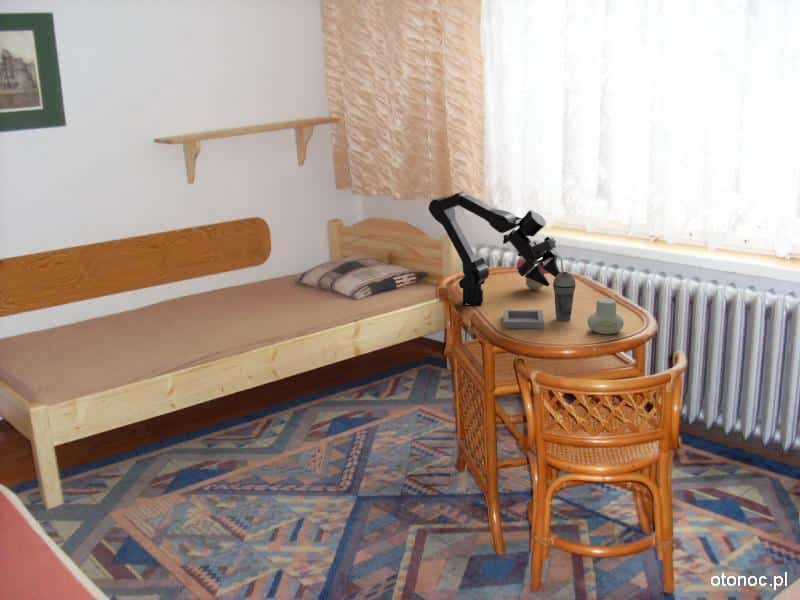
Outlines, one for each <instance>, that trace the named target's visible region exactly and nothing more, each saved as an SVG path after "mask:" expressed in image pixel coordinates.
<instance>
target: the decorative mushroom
mask: <svg viewBox="0 0 800 600" xmlns="http://www.w3.org/2000/svg"><path fill="white" fill-rule="evenodd" d="M525 262H526V261H525V259H524V258H523V257H522V256H520V257H519V258H518V260H517V262H516V270H517V271H518V268H519V267H520V266H521V265H522V264H523V263H525ZM540 266H541V265H540ZM542 267H543V266H541V272H542V273H543V275H544V276H545V275H547V274H550V273H549V272H547V271H546V270H544V269H543V268H542ZM526 275H527V274H526ZM525 285H526V286H527V288H528V289H530V290H532V291H538V290H540V289H542V288H543V286H544V285H543V284H541V283H539V282H536V281H534V280H532V279H530V278H527V277H525Z"/></svg>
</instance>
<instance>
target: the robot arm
mask: <svg viewBox="0 0 800 600" xmlns="http://www.w3.org/2000/svg"><path fill="white" fill-rule="evenodd" d="M458 206H459V207H460V208H463V209H465V210H466V211H469V212H471V213H472V214H474V215H476V216H477V217H479V218H480V219H483V220H485V221H486V222H487V223H488V224H489V226H490V227H491V228H493V229H494V230H495V231H496V232H498V233H501V234H504V233H506V234H504V235H503V240H502V243H503V245H505V244H507V243H510V244H511V245H512V246H513V247H514V248H515V250H516V251H517V252H518V253H517V256H518V257H519V258H520V256H522V257H523V258H524V259H525V261H526V262H525V263H523V264H522V265H521V266H520V267H519V268H518V270H517V271H518V272H517V273H518V274H519V275H520V277H524V278H526V277H527V278H530V279H532V280H534V281H536V282H539V283H541V284H543V286H545V287H549V286H550V282H549V281H548V278H546V276H545V274H544V275H543V273H542V272H541V266H543V267H542V268H543V269H544V270H546V271H547V272H549V273H548V274H550V275H552V276H553V277H554V278H555V277H556V276H557V275H558V274H559V273H561V272H560V270H559V267H558V264H557V259H558V257H559V256H558V254H559V252H558V251H557V249H556V248H557V246H556V242H557V240H556V239H555V238H554V237H552V236H551V235H549V236H546V237H544V240H543V241H541V242H538V241H537V240H534V241H533V240H532V239H531V238H530V237H535V235H537V234H538V233H539V232H540V231H541V230H542V229H543V228H544V227H545V226H547V225H546V224H547V222H546V220H545V218H544V217H543V215H541V214H539V213H538V212H535V211H534V210H533V209H530V210H528V212H526V214H525V215H524V216H523V217H518V216H516V215H515V214H514V213H513V212H510V211H506V210H502V209H497V208H494V207H492V206H490V205H488V204H486V203H484V202H483V201H480V200H478V199H476V198H475V197H473V196H471V195H469V194H468V193H467V192H465V191H459V192H456V193H454V194H453V195H450V196H448V197H447V196H443V197H439V198H435V199H433V200H431V201H430V203H429V205H428V211H429V213H430V214H431V216H432V218H433V219H434V220H435V221H437V222H438V223H439V224H440V225H441V226H442V227H443V228H444V230H445V232H446V234H447V236H448V238H449V239H450V241H451V243H452V245H453V247H454V249H455V251H456V252H457V254H458V256H459V258H460V260H461V264H462V273H463V275H464V276H463V277H462V278H461V279H460V280H459V281H458V285H459V288H460V289H462V303H461V306H466V305H465V304H466V303H467V304H469V305H468V306H482V303H484V289H483V288H482V285H483V284H485V282H486V280H487V279H488V278H489V275H490V270H489V268H490V266H488V264H487V263H486V260H485V258H484V257H480V258H479V257H478V256H477V255H475V253H474V251H473V248H471V245H470V243H469V242H468V239H467V238H466V235H465V234H464V232H463V230H462V228H461V227H460V224H459V222H458V221H457V219H456V210H455V207H458ZM515 228H517V229H515ZM509 231H510V232H509ZM507 232H509V233H507ZM540 265H541V266H540ZM526 274H527V275H526Z"/></svg>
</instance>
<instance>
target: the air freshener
mask: <svg viewBox="0 0 800 600" xmlns="http://www.w3.org/2000/svg"><path fill="white" fill-rule="evenodd" d="M586 321H587V326H588V328H589V329H590V330H592V331H593V332H594V333H597V334H599V333H600V335H603V334H609V335H613V334H615V333H619V331H621V330H622V329H623V327H624V324H625V322H624V319H623V317H622V316H621V315H619V314H618V313H617V301H616V300H615V299H613V298H609V297H604V298H603V297H602V298H599V299H597V300H596V309H595V312H594V313H591V314H590V316H588V318H587V320H586Z"/></svg>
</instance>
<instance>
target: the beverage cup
mask: <svg viewBox="0 0 800 600" xmlns="http://www.w3.org/2000/svg"><path fill="white" fill-rule="evenodd" d="M563 263H564V262H563V258H560V269H561V272H560V273H559V274H558V275H557V276H556V277H554V279H553V282H552V286H553V287H552V288H553V291H554V308H555V309H554V310H555V311H554V312H555V318H556V320H557V321H559V322H569V321H570V320H571V316H572V309H573V302H574V294H575V289H576V286H577V285H576V284H577V283H576V280H575V277H574V275H572V273H570V272H567V271H564V265H563Z"/></svg>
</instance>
